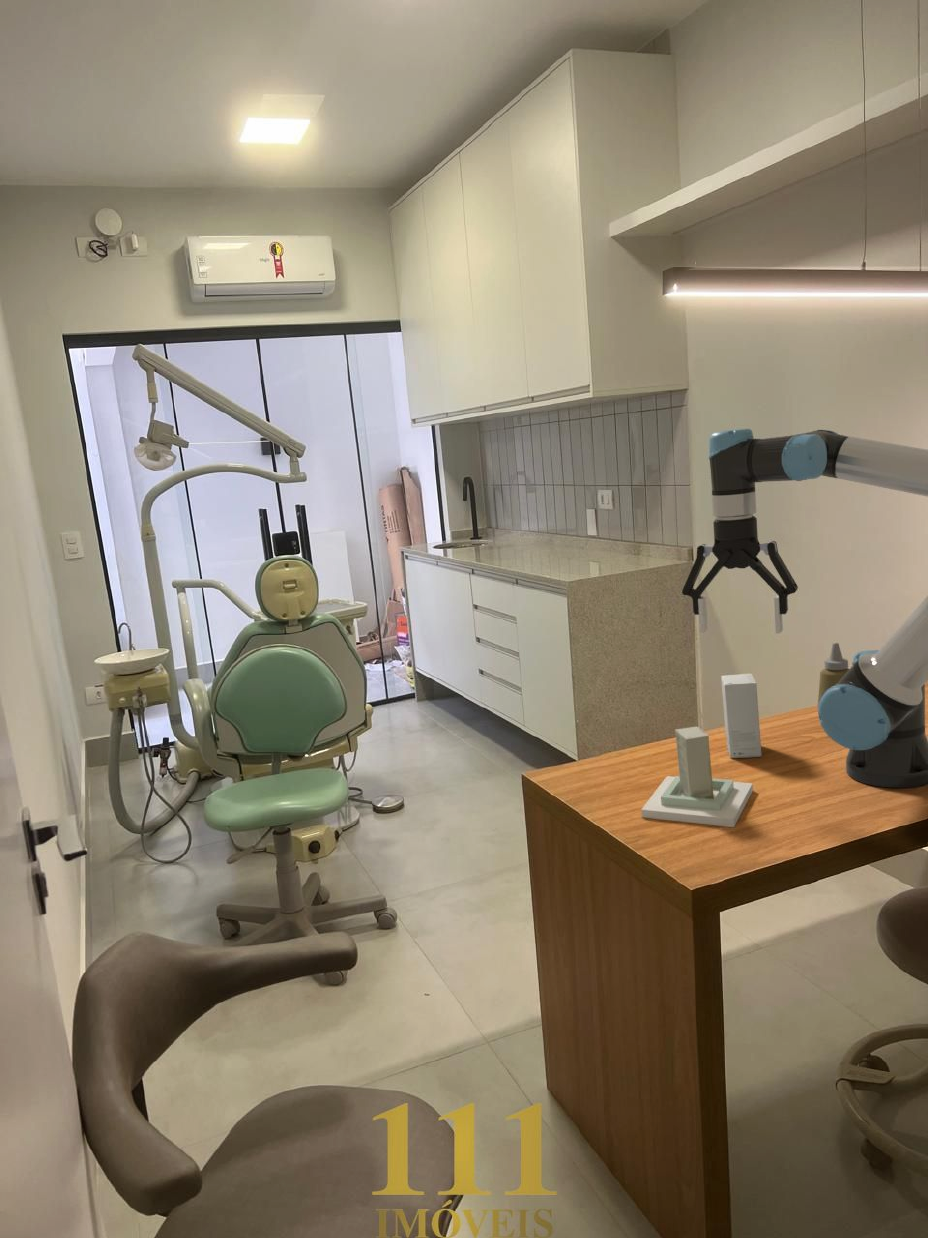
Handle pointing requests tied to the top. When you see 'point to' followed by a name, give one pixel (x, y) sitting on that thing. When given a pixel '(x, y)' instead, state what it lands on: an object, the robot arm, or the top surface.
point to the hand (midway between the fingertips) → (740, 631)
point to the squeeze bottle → (832, 670)
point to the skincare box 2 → (741, 715)
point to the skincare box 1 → (694, 762)
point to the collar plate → (699, 803)
